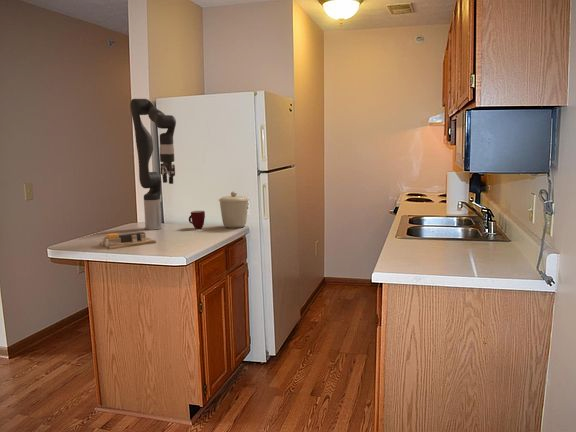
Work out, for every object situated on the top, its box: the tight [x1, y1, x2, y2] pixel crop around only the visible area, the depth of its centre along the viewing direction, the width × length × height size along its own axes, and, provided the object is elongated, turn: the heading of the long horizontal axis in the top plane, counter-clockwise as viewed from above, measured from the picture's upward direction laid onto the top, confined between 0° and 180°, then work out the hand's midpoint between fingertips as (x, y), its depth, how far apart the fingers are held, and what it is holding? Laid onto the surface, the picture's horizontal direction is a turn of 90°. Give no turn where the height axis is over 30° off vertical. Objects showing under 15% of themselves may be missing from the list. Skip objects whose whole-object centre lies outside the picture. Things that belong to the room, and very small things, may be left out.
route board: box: [99, 231, 157, 250], centre depth 253 cm, size 16×23×4 cm
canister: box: [218, 191, 250, 229], centre depth 298 cm, size 18×18×21 cm
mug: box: [188, 210, 206, 230], centre depth 295 cm, size 10×8×10 cm
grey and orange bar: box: [106, 231, 146, 243], centre depth 253 cm, size 18×5×5 cm, turn 127°
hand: (168, 183), depth 272 cm, fingers open, 8 cm apart
